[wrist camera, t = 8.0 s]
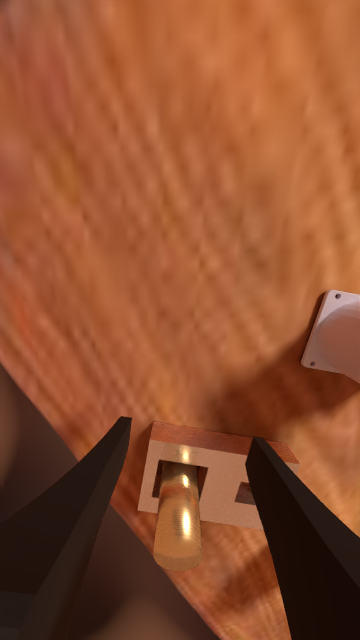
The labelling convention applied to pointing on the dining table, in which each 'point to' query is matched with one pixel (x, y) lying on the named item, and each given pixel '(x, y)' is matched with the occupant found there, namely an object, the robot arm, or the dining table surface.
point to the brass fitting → (178, 518)
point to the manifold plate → (208, 471)
